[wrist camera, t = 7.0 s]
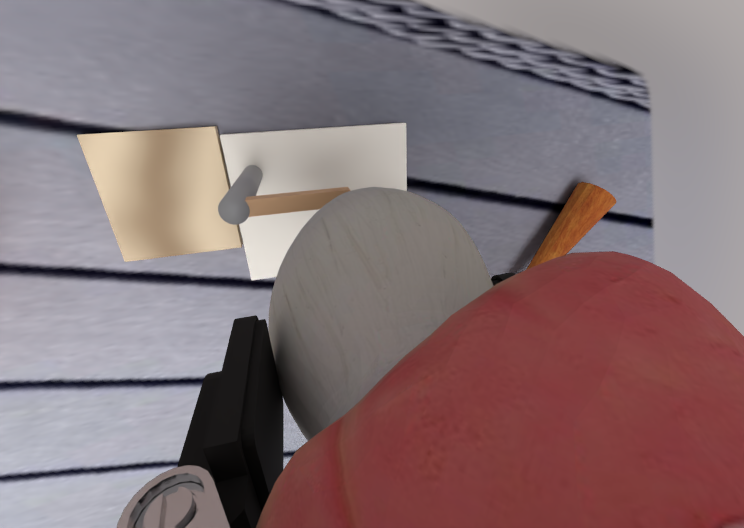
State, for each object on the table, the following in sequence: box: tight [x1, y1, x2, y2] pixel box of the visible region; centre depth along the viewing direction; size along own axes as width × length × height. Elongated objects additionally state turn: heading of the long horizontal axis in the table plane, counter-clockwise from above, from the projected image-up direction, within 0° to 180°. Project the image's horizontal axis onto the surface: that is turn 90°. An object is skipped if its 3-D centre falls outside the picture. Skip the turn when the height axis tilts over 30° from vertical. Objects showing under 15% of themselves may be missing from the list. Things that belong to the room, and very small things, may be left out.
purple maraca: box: [526, 182, 616, 270], centre depth 30 cm, size 6×6×20 cm
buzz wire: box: [218, 123, 407, 280], centre depth 21 cm, size 12×10×11 cm
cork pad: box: [77, 126, 243, 262], centre depth 22 cm, size 8×8×1 cm
